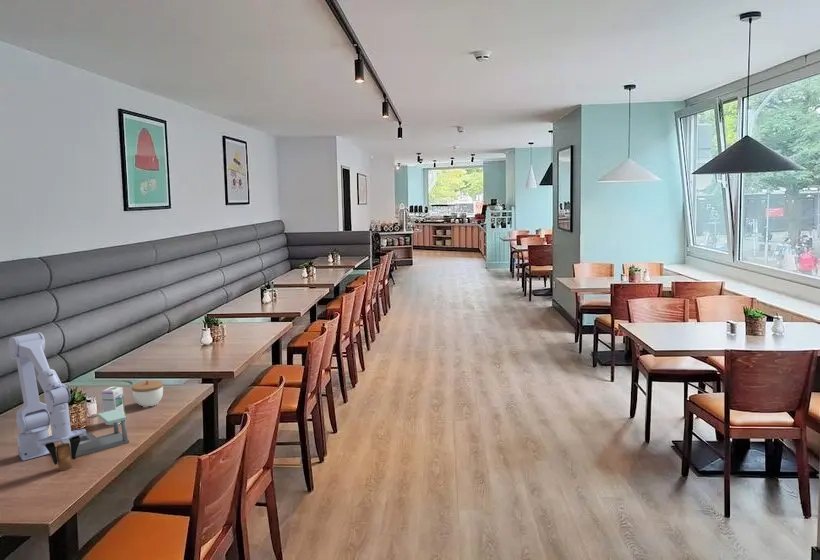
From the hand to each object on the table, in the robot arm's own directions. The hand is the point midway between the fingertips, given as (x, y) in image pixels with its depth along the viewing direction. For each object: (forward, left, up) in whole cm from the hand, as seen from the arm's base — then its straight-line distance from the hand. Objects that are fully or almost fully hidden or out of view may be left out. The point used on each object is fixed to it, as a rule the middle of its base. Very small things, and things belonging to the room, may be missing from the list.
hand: (64, 461), depth 211 cm
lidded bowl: (+44, +46, -3) cm, 64 cm away
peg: (0, 0, -2) cm, 2 cm away
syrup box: (+26, +33, -3) cm, 42 cm away
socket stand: (+12, +13, -2) cm, 18 cm away
